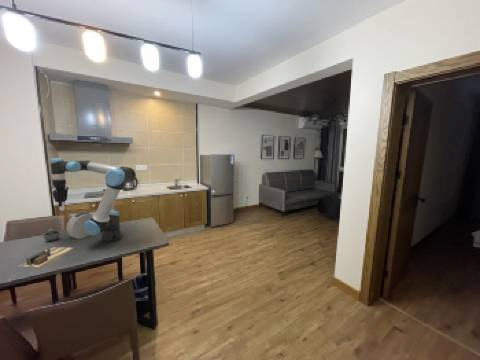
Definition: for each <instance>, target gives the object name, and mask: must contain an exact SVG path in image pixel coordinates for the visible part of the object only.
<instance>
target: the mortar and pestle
mask: <svg viewBox="0 0 480 360" xmlns="http://www.w3.org/2000/svg"><path fill="white" fill-rule="evenodd" d="M47 231H48V232H45V233H43V239H44V240H45V241H47V242H50V243H51V242H55V241H57V240H58V239H59V238H60V237H61V230H54V229H53V228H49V229H48V230H47Z"/></svg>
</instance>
